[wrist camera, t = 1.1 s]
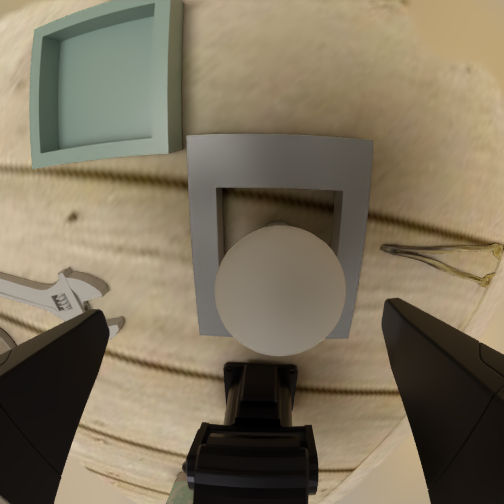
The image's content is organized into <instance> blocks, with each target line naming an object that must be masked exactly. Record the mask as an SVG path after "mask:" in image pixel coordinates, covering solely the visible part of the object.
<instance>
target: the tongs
mask: <svg viewBox="0 0 504 504" xmlns="http://www.w3.org/2000/svg"><path fill="white" fill-rule="evenodd" d="M498 249H499V251H498V252H497V250H498ZM502 249H503V246H501V245H500V244H497V243H495V244H492V245H487V246H456V247H432V248H415V247H398V246H391V245H381V247H380V250H382V251H384V252H387V253H389V254H392V255H399V256H403V257H408V258H412V259H416V260H419V261H422V262H424V263H427V264H429V265H431V266H433V267H435V268H437V269H438V270H441V271H444V272H447V273H449V274H451V275H454V276H458V277H461V278H464V279H469V280H472V281H475V282H477V283H479V285H480V286H481V287H485V288H486V287H489V285H490V283H491V279H492V277H493V276H494V275H495V273H493V274H491V275H486V276H485V277H484V278H480V277H477V276H474V275H471V274H468V273H462V272H459V271H458V270H456V269H454V268H451V267H449V266H447V265H444V264H442V263H440V262H437V261H435V260H432V259H429V258H426V257H423V256H421V255H417V254H418V252H420V253H431V254H442V253H450V252H454V251H474V252H477V251H493V252H494V256H496V257H498V259H499V260H501V258H500V253H501V252H502ZM487 278H488V279H489V280H488V281H487Z"/></svg>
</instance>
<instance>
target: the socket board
mask: <svg viewBox="0 0 504 504" xmlns="http://www.w3.org/2000/svg"><path fill="white" fill-rule="evenodd" d="M372 157H373V140H366V139H358V138H347V137H335V136H320V135H301V134H267V133H232V134H198V135H187V166H188V191H189V210H190V227H191V242H192V256H193V269H194V281H195V292H196V302H197V313H198V322H199V331H200V335H208V336H224V337H233V336H232V335H231V334H230V333H229V332H228V330H227V329H226V328H225V326H224V324H223V322H222V321H221V318H220V316H219V313H218V310H217V307H216V301H215V288H214V287H215V280H216V275H217V272H218V270H219V267H220V264H221V262H222V260H223V258H224V232H223V193H222V188H289V189H317V190H335V198H334V212H333V224H332V236H331V246H330V248H331V249H332V250H333V252H334V254H335V255H336V257H337V259H338V260H339V262H340V264H341V267H342V270H343V273H344V276H345V285H346V297H345V304H344V308H343V311H342V314H341V316H340V319H339V321H338V323H337V324H336V326H335V328H334V329H333V330H332V331H331V332H330V334H329V335H328V336H327V337H326V338H325V339H343V338H348V337H349V332H350V327H351V322H352V317H353V312H354V306H355V301H356V295H357V289H358V283H359V277H360V270H361V264H362V257H363V250H364V242H365V234H366V226H367V217H368V207H369V197H370V185H371V172H372Z"/></svg>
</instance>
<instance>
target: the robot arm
mask: <svg viewBox="0 0 504 504" xmlns="http://www.w3.org/2000/svg"><path fill="white" fill-rule="evenodd" d="M382 331H383V335H384V339H385V343H386V348H387V352H388V356H389V361H390V365H391V369H392V372H393V375H394V378H395V381H396V384H397V387H398V390H399V393H400V395H401V398H402V402H403V405H404V408H405V411H406V414H407V417H408V420H409V423H410V427H411V430H412V433H413V437H414V440H415V443H416V447H417V450H418V454H419V457H420V461H421V465H422V468H423V472H424V476H425V480H426V484H427V488H428V489H429V490H428V493H429V497H430V502H431V504H504V355H503V354H501V353H500V352H498V351H496V350H494V349H492V348H490V347H488V346H487V345H485V344H483V343H479V341H478V340H476V339H474V338H472V337H470V336H469V335H467V334H465V333H463V332H461V331H459V330H458V329H456V328H454V327H452V326H450V325H448V324H447V323H445V322H443V321H441V320H439V319H437V318H435V317H434V316H432V315H430V314H428V313H426V312H424V311H422V310H420V309H419V308H417V307H415V306H413V305H411V304H409V303H407V302H405V301H404V300H402V299H400V298H391V299H387V300H386V301H385V303H384V310H383V317H382ZM109 336H110V331H109V327H108V325H107V322H106V319H105V316H104V314H103V312H102V311H101V310H99V309H90V310H88V311H86V312H84V313H82V314H80V315H78V316H76V317H74V318H72V319H70V320H68V321H66V322H64V323H62V324H60V325H58V326H56V327H54V328H52V329H50V330H48V331H46V332H44V333H42V334H40V335H38V336H36V337H34V338H32V339H30V340H28V341H26V342H24V343H22V344H20V345H18V346H16V347H14V348H13V349H10V350H8V351H6V352H4V353H2V354H0V504H54V501H55V497H56V493H57V490H58V487H59V483H60V480H61V475H62V472H63V469H64V466H65V463H66V460H67V457H68V454H69V451H70V448H71V445H72V442H73V439H74V436H75V433H76V430H77V427H78V425H79V422H80V419H81V416H82V414H83V411H84V408H85V406H86V403H87V400H88V398H89V395H90V393H91V390H92V388H93V385H94V383H95V380H96V378H97V375H98V372H99V369H100V366H101V363H102V359H103V356H104V353H105V350H106V346H107V343H108V340H109ZM228 368H231V369H228ZM290 370H294V371H290ZM297 374H298V369H297V367H296V366H295V365H265V364H240V363H226V364H225V365H224V383H225V395H226V412H225V418H224V425H218V424H209V423H206V422H202V424H201V427H200V429H198V431H197V434H196V436H195V438H194V441H193V443H192V446H191V448H190V451H189V453H188V456H187V458H186V461H185V462H184V463H183V466H182V470H183V471H184V473H185V474H186V475H187V483H188V487H189V489H190V490H193V504H308V495H315V494H316V492H317V486H318V457H317V451H316V446H315V440H314V435H313V430H312V425H305V426H292V410H293V403H294V396H295V389H296V382H297Z"/></svg>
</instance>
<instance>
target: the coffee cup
mask: <svg viewBox="0 0 504 504" xmlns="http://www.w3.org/2000/svg"><path fill="white" fill-rule="evenodd" d="M166 504H193V490H190V489H189V487H188V483H187V475H186V474H185V473H184V472H181V473H179V474H178V475H177V478H176V480H175V483H174V485H173V488H172V490H171V493H170V495H169V498H168V500H167V503H166Z"/></svg>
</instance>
